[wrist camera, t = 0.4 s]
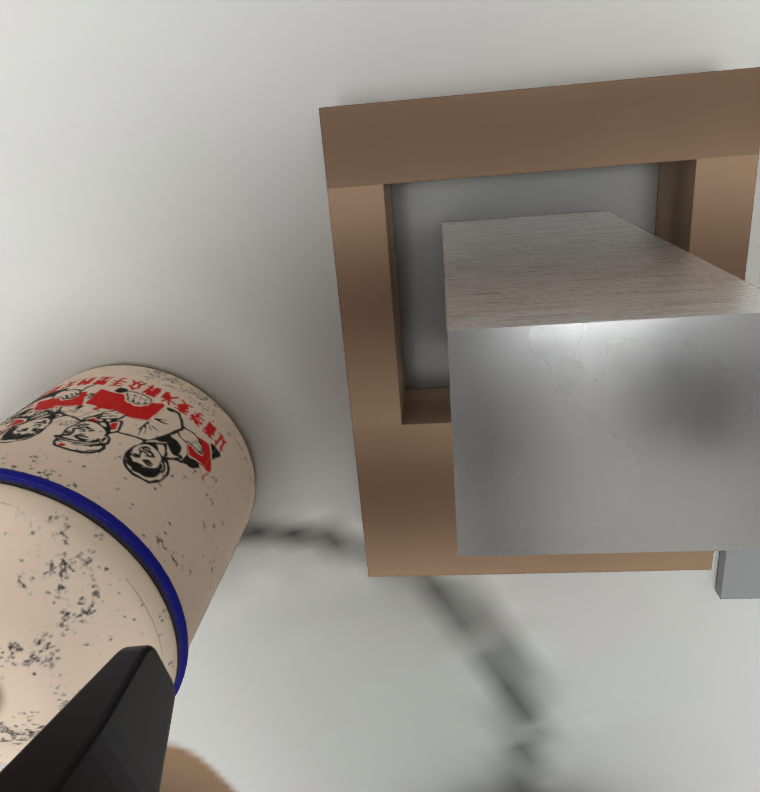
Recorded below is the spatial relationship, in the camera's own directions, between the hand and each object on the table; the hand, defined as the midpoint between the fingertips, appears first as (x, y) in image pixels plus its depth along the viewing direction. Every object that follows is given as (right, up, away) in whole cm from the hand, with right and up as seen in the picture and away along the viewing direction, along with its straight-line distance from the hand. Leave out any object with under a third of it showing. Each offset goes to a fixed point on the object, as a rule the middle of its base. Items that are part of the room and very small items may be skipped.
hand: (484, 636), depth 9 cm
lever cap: (+3, +7, +13) cm, 15 cm away
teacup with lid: (-12, +1, +17) cm, 20 cm away
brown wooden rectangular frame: (+3, +5, +14) cm, 15 cm away
